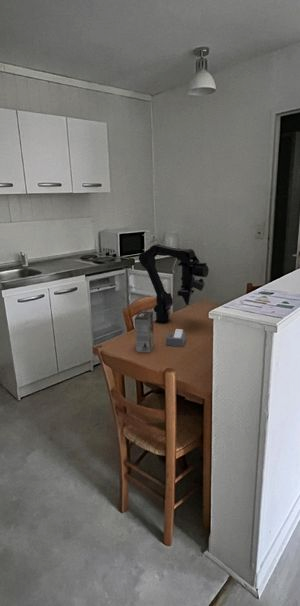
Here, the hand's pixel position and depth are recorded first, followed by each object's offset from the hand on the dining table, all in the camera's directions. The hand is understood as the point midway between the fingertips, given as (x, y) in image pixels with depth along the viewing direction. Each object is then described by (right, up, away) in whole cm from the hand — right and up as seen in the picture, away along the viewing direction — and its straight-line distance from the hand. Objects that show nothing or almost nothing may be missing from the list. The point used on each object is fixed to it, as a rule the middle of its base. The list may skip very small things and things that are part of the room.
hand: (187, 304), depth 182 cm
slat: (-6, -17, -11) cm, 21 cm away
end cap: (-7, -17, -14) cm, 23 cm away
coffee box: (-21, -20, -20) cm, 35 cm away
